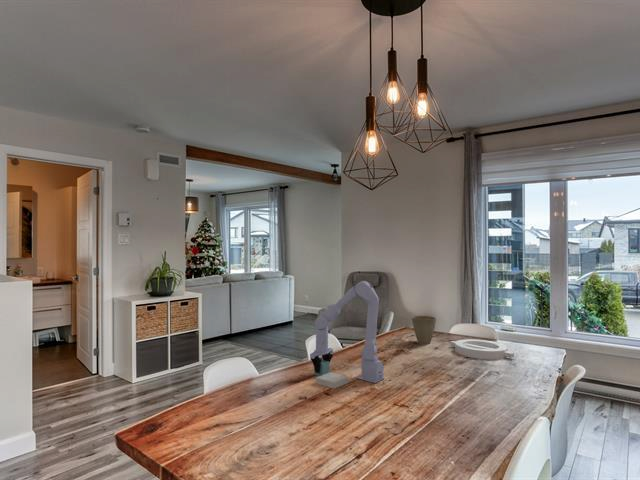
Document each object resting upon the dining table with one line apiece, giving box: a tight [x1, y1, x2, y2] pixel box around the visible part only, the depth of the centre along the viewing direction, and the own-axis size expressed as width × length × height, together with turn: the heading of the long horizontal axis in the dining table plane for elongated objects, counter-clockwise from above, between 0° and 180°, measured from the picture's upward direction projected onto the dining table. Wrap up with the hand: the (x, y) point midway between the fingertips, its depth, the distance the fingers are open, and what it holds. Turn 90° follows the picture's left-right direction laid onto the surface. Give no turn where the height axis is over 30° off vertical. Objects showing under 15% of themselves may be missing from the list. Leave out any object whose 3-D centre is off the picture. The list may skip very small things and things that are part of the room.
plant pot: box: [411, 315, 437, 345], centre depth 250 cm, size 15×15×16 cm
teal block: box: [313, 359, 330, 377], centre depth 184 cm, size 5×5×6 cm
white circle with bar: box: [450, 338, 515, 360], centre depth 227 cm, size 28×28×5 cm
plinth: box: [315, 371, 349, 389], centre depth 173 cm, size 10×10×2 cm
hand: (321, 370), depth 184 cm, fingers open, 6 cm apart
